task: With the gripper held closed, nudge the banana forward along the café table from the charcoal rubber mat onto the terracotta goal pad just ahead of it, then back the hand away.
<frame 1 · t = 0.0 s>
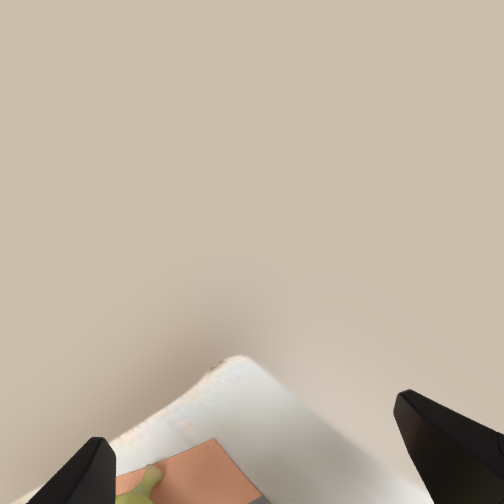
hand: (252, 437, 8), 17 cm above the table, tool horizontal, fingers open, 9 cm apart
goal pad: (174, 494, 19), on the table
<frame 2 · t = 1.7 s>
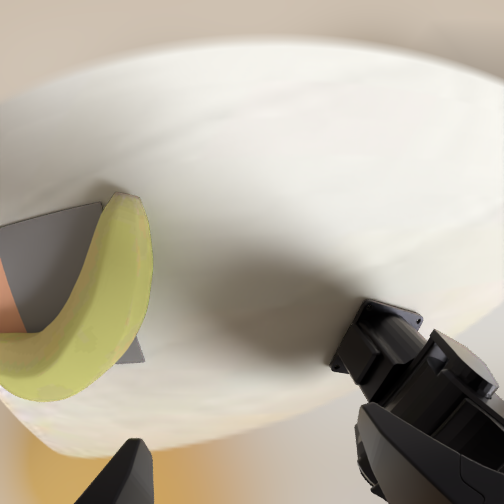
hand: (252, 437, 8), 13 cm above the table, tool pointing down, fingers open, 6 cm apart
banana: (42, 299, 19), on the table, touching goal pad, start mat
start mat: (62, 296, 19), on the table
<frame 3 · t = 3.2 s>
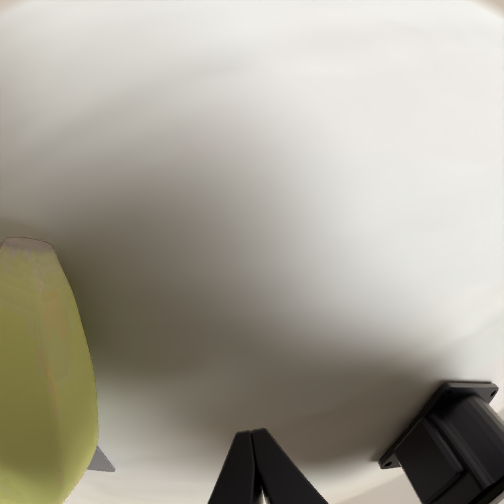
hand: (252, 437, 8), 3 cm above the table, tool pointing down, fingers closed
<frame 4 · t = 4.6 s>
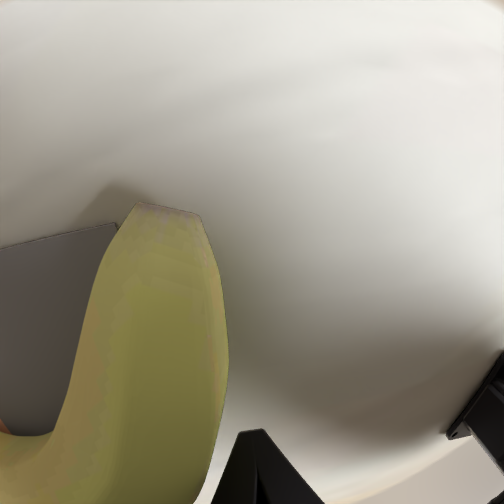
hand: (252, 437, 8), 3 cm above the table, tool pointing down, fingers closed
banana: (10, 386, 9), on the table, touching gripper, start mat
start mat: (53, 392, 9), on the table
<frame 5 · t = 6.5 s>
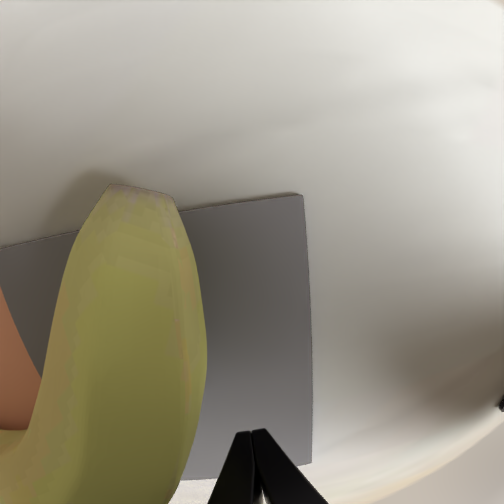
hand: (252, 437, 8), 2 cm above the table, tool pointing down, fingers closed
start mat: (168, 392, 10), on the table
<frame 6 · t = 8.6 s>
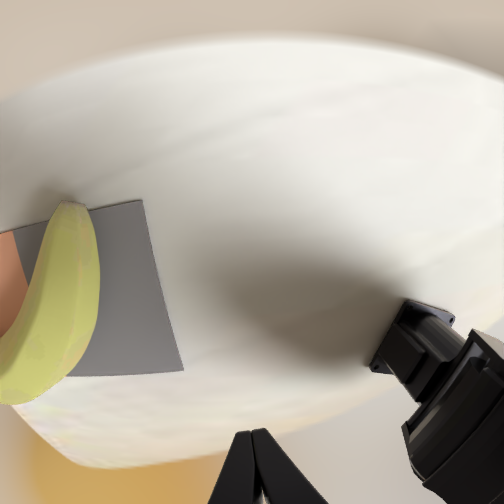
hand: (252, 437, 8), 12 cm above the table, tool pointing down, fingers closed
goal pad: (4, 312, 18), on the table
banana: (7, 304, 18), on the table, touching goal pad, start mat
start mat: (93, 303, 18), on the table
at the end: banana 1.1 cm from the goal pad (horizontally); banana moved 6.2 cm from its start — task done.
